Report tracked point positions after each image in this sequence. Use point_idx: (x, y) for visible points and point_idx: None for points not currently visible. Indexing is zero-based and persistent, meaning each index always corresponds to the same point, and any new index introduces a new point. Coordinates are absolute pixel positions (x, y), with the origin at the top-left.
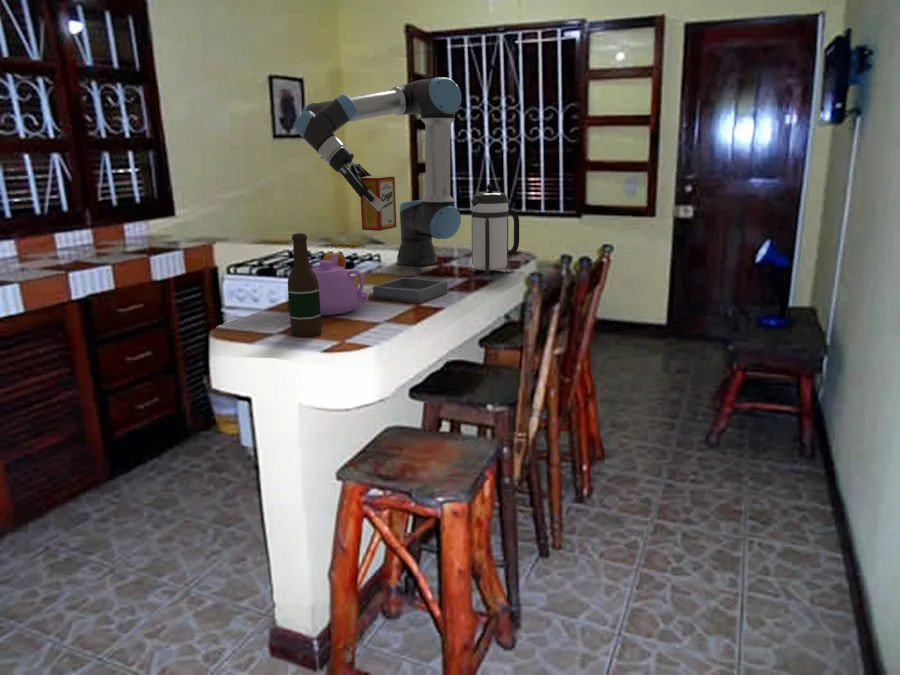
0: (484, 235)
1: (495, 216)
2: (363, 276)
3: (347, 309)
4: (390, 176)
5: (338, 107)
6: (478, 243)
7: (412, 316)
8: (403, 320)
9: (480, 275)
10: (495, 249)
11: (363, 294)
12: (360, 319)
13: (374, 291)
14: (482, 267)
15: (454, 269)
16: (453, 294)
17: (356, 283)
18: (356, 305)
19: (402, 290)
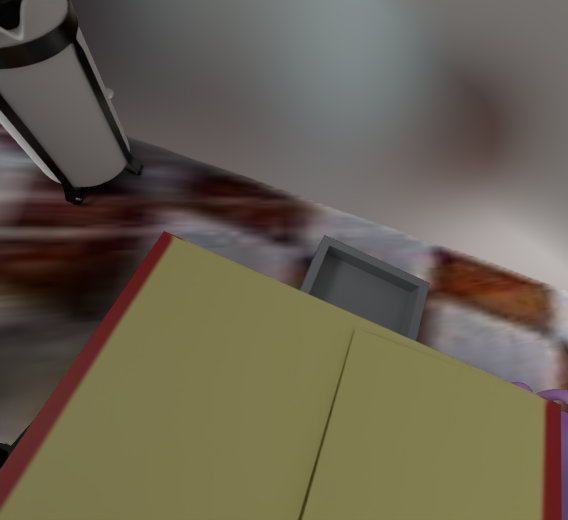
0: (93, 98)
1: (76, 16)
2: (565, 390)
3: None
4: (181, 281)
5: None
6: (89, 131)
7: (504, 294)
8: (532, 305)
9: (133, 184)
10: (114, 110)
11: (532, 391)
12: (554, 385)
13: None
14: (122, 168)
15: (29, 237)
16: (331, 235)
17: None
18: None
19: (419, 320)
